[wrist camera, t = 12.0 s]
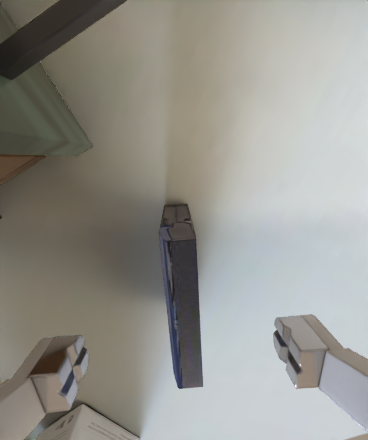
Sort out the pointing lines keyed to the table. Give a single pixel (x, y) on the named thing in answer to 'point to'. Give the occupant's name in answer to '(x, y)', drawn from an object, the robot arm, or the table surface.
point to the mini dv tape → (182, 293)
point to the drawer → (39, 86)
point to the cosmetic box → (85, 427)
